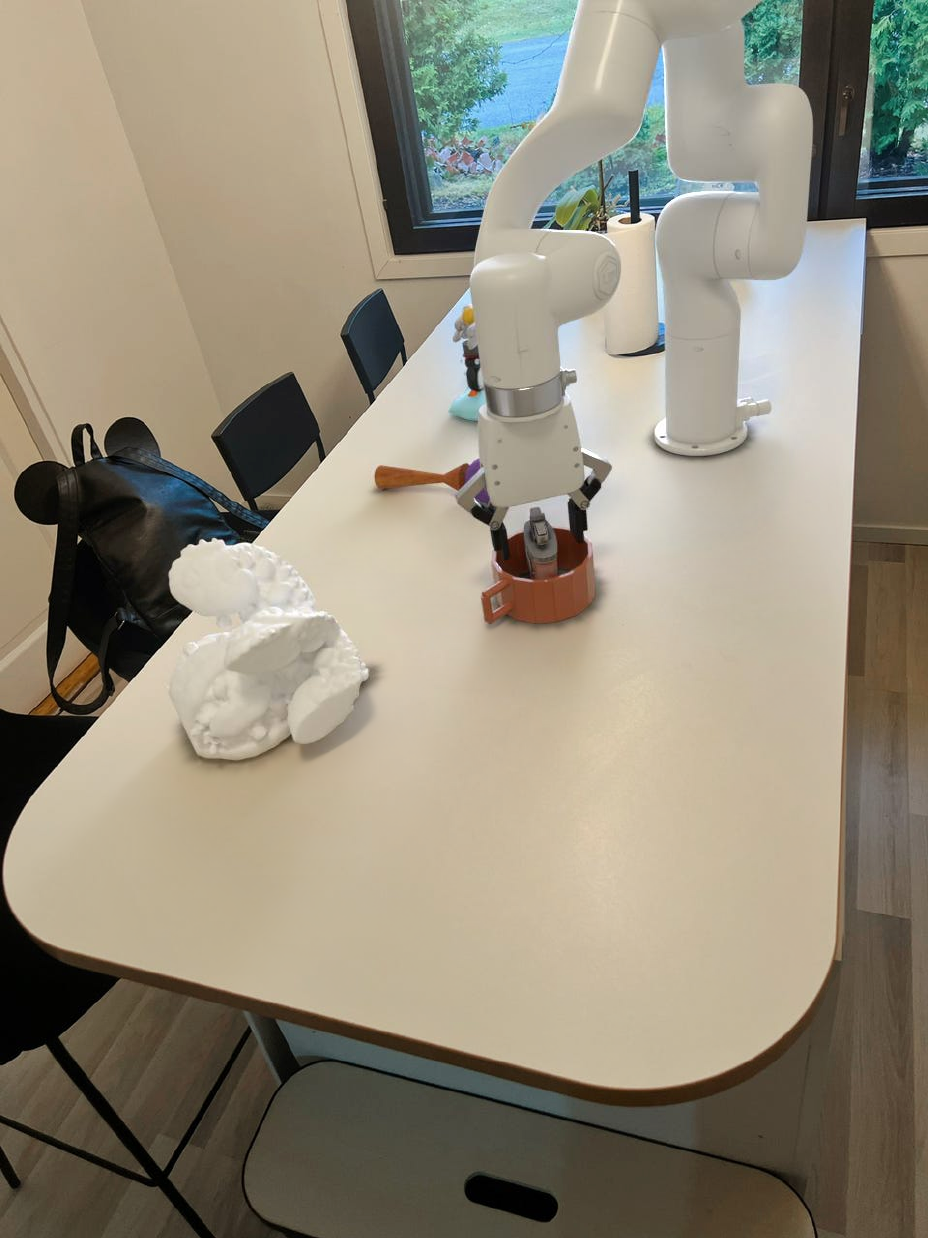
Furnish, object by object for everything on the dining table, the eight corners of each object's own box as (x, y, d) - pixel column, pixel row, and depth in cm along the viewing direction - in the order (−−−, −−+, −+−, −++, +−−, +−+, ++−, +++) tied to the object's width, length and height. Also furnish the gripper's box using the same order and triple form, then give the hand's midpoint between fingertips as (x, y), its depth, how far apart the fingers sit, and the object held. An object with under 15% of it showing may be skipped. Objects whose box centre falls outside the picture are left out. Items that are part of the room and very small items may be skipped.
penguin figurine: (500, 427, 134) (487, 330, 125) (438, 424, 139) (421, 330, 130) (543, 375, 148) (534, 284, 139) (486, 374, 153) (474, 286, 144)
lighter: (526, 575, 102) (516, 501, 96) (555, 571, 102) (547, 496, 96) (536, 616, 95) (526, 539, 89) (567, 611, 95) (559, 533, 89)
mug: (546, 555, 104) (541, 515, 101) (615, 587, 97) (613, 546, 94) (455, 613, 98) (447, 572, 95) (522, 652, 91) (516, 610, 87)
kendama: (388, 450, 125) (514, 451, 115) (395, 490, 127) (519, 494, 118) (365, 462, 120) (495, 464, 111) (373, 504, 123) (500, 509, 113)
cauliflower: (86, 662, 85) (215, 505, 84) (237, 730, 99) (348, 597, 99) (140, 782, 72) (294, 597, 71) (304, 840, 86) (433, 687, 86)
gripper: (598, 360, 88) (607, 511, 98) (429, 396, 87) (456, 546, 97) (623, 386, 82) (629, 545, 92) (442, 426, 80) (469, 582, 91)
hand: (540, 544), depth 94 cm, fingers open, 7 cm apart
